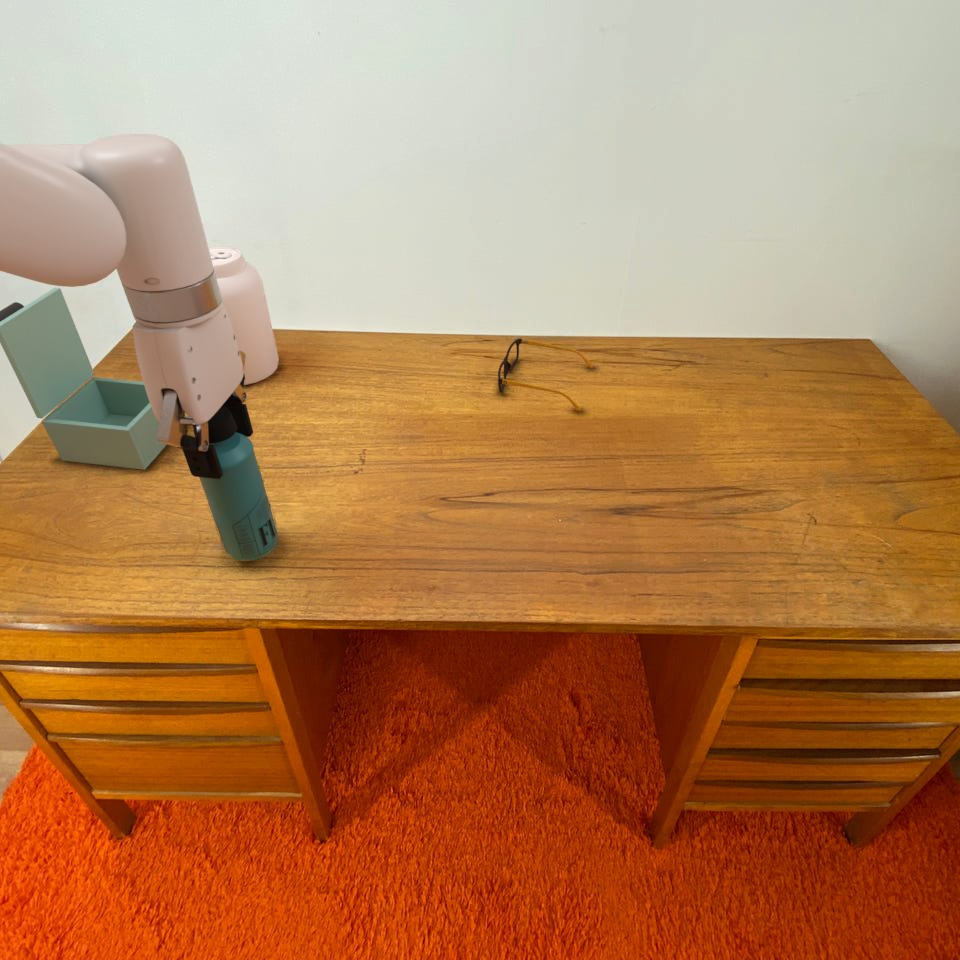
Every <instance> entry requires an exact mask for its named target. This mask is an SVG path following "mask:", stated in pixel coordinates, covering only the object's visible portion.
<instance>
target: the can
mask: <svg viewBox="0 0 960 960" xmlns="http://www.w3.org/2000/svg"><path fill="white" fill-rule="evenodd" d="M208 248H209V252H210V256H211V260H212V264H213V268H214V271H215V274H216V278H217V282H218V286H219V290H220V294H221V298H222V301H223V304H224V307H225V309H226V312H227V314H228V317H229V319H230V322H231V325H232V328H233V331H234V334H235V337H236V340H237V343H238V347H239V350H240V351H242V352H244V353H245V365H244V375H245V380H244V386H247V385H251V384H255V383H258V382H261V381H263V380H266V379H267V378H269V377H270V376H271V375H273V374H274V373H275V371H276V370H277V369H278V366H279V360H280V358H279V353H278V349H277V344H276V343H277V342H276V339H275V335H274V334H275V333H274V329H273V326H272V320H271V315H270V311H269V307H268V301H267V297H266V292H265V287H264V283H263V279H262V278H261V276H260V274H259V272H258V269H257V268H256V267H255V266H254V265H252V264H250V263H249V262H247V261H246V259H245V257H244V255H243V253H242V252H241V251H240V249H237V248H235V247H231V246H221V245H219V246H208Z"/></svg>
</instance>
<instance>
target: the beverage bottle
mask: <svg viewBox="0 0 960 960" xmlns="http://www.w3.org/2000/svg"><path fill="white" fill-rule="evenodd" d="M196 426H197V425H192V429H193V435H194V437H197V429H196ZM236 431H237V426H236V423H235V421H234V419H233V416H232V414H231V412H230V411H229V410H228V409H227V408H224V407H220V409H219V410H218V411H217V412H216V413H215V414H214V415H213V417H212V418H211V419H210V420H208V433H209V444H211V445H214V447H215V449H216V453H217V456H218V459H219V462H220V465H221V468H222V471H223V476H222V477H221V478H220V479H212V478H204V477H198V478H199V481H200V483H201V487H202V489H203V492H204V495H205V498H206V501H207V504H208V508H209V510H208V511H209V514H210V515H211V517H212V518H211V519H212V521H213V525H214V526H215V527H216V528H215V530H216V531H217V533H218V538H219V539H220V541H221V544H222V548H223V551H225V553H226V554H227V555H228V556H229V557H231V558H232V559H233V560H237V561H240V562H251V561H252V562H253V561H256V560H259V559H262V558H264V557H266V556H268V555H269V554H270V553H272V551H274V549H275V548H276V546H277V544H278V540H279V532H278V529H277V528H278V527H277V521H276V517H275V515H274V513H273V512H274V511H273V509H272V508H271V507H272V506H271V501H270V499H269V496H268V495H267V490H266V487H265V484H264V483H265V482H266V481H265V480H264V479H263V474H262V472H261V468H260V464H259V462H258V460H257V457H256V453H255V450H254V445H253V442H252V440H251V439H250V437H246V436H244V435H242V434H240V433H237V432H236Z"/></svg>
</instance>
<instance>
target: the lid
mask: <svg viewBox="0 0 960 960" xmlns="http://www.w3.org/2000/svg"><path fill="white" fill-rule="evenodd" d="M62 291H63V290H62V289H61V288H60V287H54V288H52V289H51V290H49V291H47V292H45V293H44V294H42V295H41V296H39V297H37V298H36V299H34V300H32V301H31V302H30V303H28V304H27V305H23V304H22V303H20V302H17V301H15V302H12V303H11V304H9V305H8V306H6V307H4V308H3V309H0V345H1V347H2V350H3V351H4V353H5V356H6V358H7V360H8V361H9V363H10V366H11V368H12V370H13V372H14V375H15V376H16V378H17V380H18V382H19V384H20V386H21V388H22V391H23V392H24V394H25V396H26V398H27V400H28V402H29V405H30V407H31V409H32V410H33V412H34V414H35V416H36V418H37V419H45V418H46V417H47V416H48V415H49V414H50V413H52V412H53V411H54V410H55V409H56V408H58V407H59V406H60V405H61V404H62V403H63V402H65V401H66V400H67V399H68V398H69V397H71V396H72V395H73V394H74V393H75V392H76V391H78V390H79V389H80V388H81V387H82V386H84V385H85V384H86V383H87V382H88V381H89V380H91V379H92V378H93V377H94V376H95V372H94V369H93V366H92V365H91V362H90V360H89V359H90V358H89V357H88V354H87V351H86V349H85V347H84V344H83V342H82V339H81V336H80V334H79V332H78V329H77V326H76V323H75V322H74V319H73V317H72V314H71V312H70V309H69V306H68V304H67V301H66V299H65V296H64V294H63V292H62Z"/></svg>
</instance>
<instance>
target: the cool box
mask: <svg viewBox="0 0 960 960" xmlns="http://www.w3.org/2000/svg"><path fill="white" fill-rule="evenodd" d="M41 424H42V425H43V428H44V429H45V431H46V433H47V435H48V437H49V439H50V440H51V442H52V444H53V447H54V448H55V450H56V451H57V454H58V455H59V458H60V460H61V461H63V462H72V463H81V464H89V465H90V464H91V465H97V466H107V467H115V468H125V469H134V470H140V471H141V470H143V471H145V470H147V468H148V467H149V466H150V465H151V464H152V463H153V462H154V460H155V459H156V458H157V457H158V455H160V453H161V452H162V451H163V450H164V449H165V447H166V446H168V445H167V444H164V443H161V442H158V440H157V432H158V426H159V421H158V420H157V419H156V417H155V415H154V413H153V410H152V407H151V405H150V402H149V399H148V396H147V392H146V389H145V386H144V382H143V381H139V380H128V379H118V378H107V377H100V376H98V377H97V376H92V377H91V378H90V379H89V380H87V381H86V382H85V383H84V384H83V385H82V386H80V387H79V388H78V389H77V390H76V391H74V392H73V393H72V394H71V395H70V396H68V397H67V398H66V399H65V400H64V401H63V402H61V403H60V404H59V405H58V406H57V407H55V408H54V409H53V410H52V411H51V412H50V413H48V414H47V415H46V416H45V417H44V418H43V419H42V420H41Z"/></svg>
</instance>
